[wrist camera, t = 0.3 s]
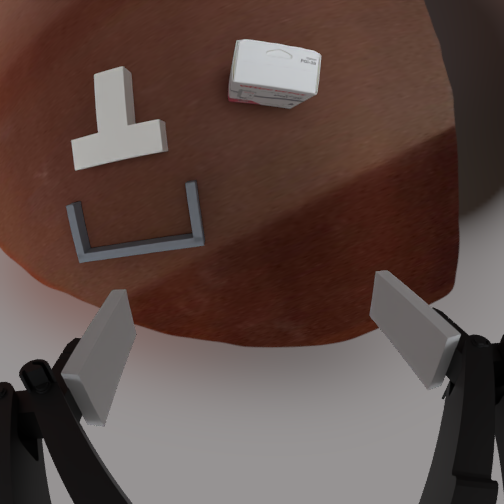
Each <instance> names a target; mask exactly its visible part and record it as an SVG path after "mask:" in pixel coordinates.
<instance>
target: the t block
mask: <svg viewBox="0 0 504 504" xmlns="http://www.w3.org/2000/svg"><path fill="white" fill-rule="evenodd" d="M94 87H95V103H96V116H97V127H98V133H96V134H92V135H88V136H85V137H81V138H78V139H75V140H71V142H72V151H73V158H74V166H75V170H80V169H86V168H90V167H94V166H98V165H102V164H107V163H111V162H116V161H120V160H125V159H130V158H134V157H139V156H145V155H150V154H155V153H161V152H166V151H168V144H167V136H166V127H165V122H164V121H162V120H160V119H157V120H152V121H147V122H142V123H137V124H136V122H135V112H134V100H133V88H132V73H131V72H130V71H128V70H127V69H126V68H125V67H123V66H121V67H118V68H114V69H110V70H107V71H104V72H100V73H97V74H94Z"/></svg>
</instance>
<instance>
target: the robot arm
mask: <svg viewBox="0 0 504 504" xmlns="http://www.w3.org/2000/svg"><path fill="white" fill-rule="evenodd" d="M369 316H370V317H371V318H372V319H373V321H374V322H375V323H376V324H377V325H378V327H379V328H380V329H381V330H382V332H383V333H384V334H385V335H386V336H387V338H388V339H389V340H390V342H391V343H392V344H393V345H394V347H395V348H396V349H397V350H398V352H399V353H400V354H401V355H402V357H403V358H404V359H405V361H406V362H407V363H408V365H409V366H410V367H411V368H412V370H413V371H414V372H415V374H416V375H417V376H418V378H419V379H420V380H421V382H422V383H423V384H424V385H425V387H426V388H427V389H428V390H431V389H433V388H436V387H439V386H441V385H442V383H443V380H444V378H445V376H447V377H448V378H449V379H450V381H449V384H448V386H447V388H446V390H445V392H444V395H443V397H442V399H444V398H445V396H446V399H445V405H444V411H443V416H442V421H441V426H440V431H439V436H438V440H437V444H436V448H435V452H434V456H433V460H432V464H431V468H430V471H429V474H428V478H427V481H426V484H425V487H424V490H423V493H422V496H421V499H420V502H419V504H496V500H497V495H498V483H497V481H493V480H491V472H492V464H493V453H494V439H495V437H496V442H497V447H498V453H499V458H500V465H501V472H502V480H503V490H504V335H503V336H502V339H501V341H500V343H494V344H491V343H490V341H489V340H487V339H486V338H485V337H483V336H480V335H470V336H469V335H468V334H467V333H465V332H464V331H463V330H462V329H461V328H460V327H459V326H458V325H457V324H455V323H453V321H452V320H451V319H450V318H448V316H446V315H445V314H444V313H443V312H442V311H440V310H438V309H435V308H431V307H430V306H429V305H428V304H427V303H426V302H425V301H423V300H422V299H421V298H420V297H419V296H418V295H416V294H415V293H414V292H413V291H412V290H410V289H409V288H408V287H407V286H406V285H405V284H403V283H402V282H401V281H400V280H399V279H397V278H396V277H395V276H394V275H393V274H391V273H390V272H389V271H388V270H387V271H377V272H376V274H375V281H374V289H373V296H372V302H371V309H370V315H369ZM135 337H136V331H135V327H134V323H133V319H132V315H131V310H130V306H129V302H128V297H127V292H126V289H123V290H112V291H111V293H110V294H109V296H108V297H107V299H106V300H105V302H104V303H103V305H102V306H101V308H100V309H99V311H98V312H97V314H96V316H95V317H94V319H93V320H92V322H91V323H90V325H89V327H88V328H87V330H86V331H85V333H84V335H83V336H82V338H75V339H73V340H72V341H71V342H70V343H68V344H67V346H66V347H65V349H64V350H63V353H61V355H60V357H59V359H58V360H57V361H56V363H55V365H54V366H53V368H52V370H51V368H50V366H49V364H48V363H47V361H45V360H41V359H37V360H32V361H30V362H28V363H26V364H25V365H24V366H23V367H22V368H21V370H20V372H19V376H20V378H21V380H22V382H23V384H24V386H25V388H26V389H27V390H25V391H15V390H14V388H13V386H12V385H11V384H10V383H7V382H0V504H51V500H50V495H49V489H48V484H47V477H46V471H45V463H44V455H43V446H42V438H44V440H45V443H46V445H47V448H48V450H49V453H50V455H51V457H52V460H53V462H54V464H55V466H56V468H57V471H58V473H59V475H60V477H61V479H62V481H63V483H64V485H65V487H66V489H67V491H68V493H69V495H70V497H71V498H72V500H73V502H74V504H132V502H131V501H130V500H129V499H128V497H127V496H126V495H125V493H124V492H123V491H122V489H121V488H120V486H119V485H118V484H117V482H116V481H115V480H114V478H113V477H112V475H111V474H110V472H109V471H108V469H107V468H106V466H105V465H104V463H103V461H102V460H101V458H100V457H99V455H98V453H97V452H96V450H95V449H94V447H93V445H92V444H91V442H90V440H89V438H88V437H87V435H86V433H85V431H84V430H83V428H82V426H81V424H80V423H79V422H80V419H81V417H82V416H83V417H84V419H85V421H86V423H87V424H89V425H96V426H105V423H106V419H107V416H108V413H109V410H110V407H111V404H112V401H113V398H114V395H115V392H116V389H117V386H118V383H119V381H120V377H121V375H122V372H123V369H124V366H125V364H126V361H127V358H128V355H129V353H130V350H131V347H132V345H133V342H134V340H135Z"/></svg>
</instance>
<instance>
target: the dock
mask: <svg viewBox="0 0 504 504" xmlns="http://www.w3.org/2000/svg"><path fill="white" fill-rule="evenodd" d="M185 185H186V193H187V200H188V206H189V213H190V220H191V226H192V232H193V233H191V234H183V235H176V236H169V237H162V238H155V239H148V240H141V241H135V242H128V243H121V244H115V245H108V246H102V247H96V248H91V247H90V243H89V239H88V235H87V230H86V226H85V221H84V216H83V211H82V206H81V201H79V202H75V203H72V204H70V205H67V206H66V208H67V213H68V218H69V222H70V227H71V231H72V236H73V240H74V244H75V248H76V252H77V256H78V259H79V263H82V262H89V261H96V260H103V259H110V258H117V257H124V256H131V255H138V254H146V253H153V252H160V251H168V250H175V249H182V248H190V247H197V246H204V243H205V237H204V231H203V224H202V217H201V210H200V203H199V196H198V189H197V181H196V180H193V181H187V182H186V183H185Z"/></svg>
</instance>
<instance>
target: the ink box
mask: <svg viewBox="0 0 504 504" xmlns="http://www.w3.org/2000/svg"><path fill="white" fill-rule="evenodd" d="M320 65H321V55H320V54H319V53H317V52H316V51H313V50H307V49H303V48H299V47H293V46H287V45H283V44H277V43H269V42H263V41H256V40H248V39H244V40H238V41H236V46H235V51H234V56H233V61H232V67H231V72H230V78H229V85H228V100H229V101H230V102H240V103H250V104H259V105H267V106H274V107H282V108H289V109H291V108H293V107H294V106H296V105H298V104H300V103H301V102H303V101H305V100H307V99H309V98H311V97H312V96H314V95H316V94H317V91H318V84H319V75H320Z"/></svg>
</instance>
